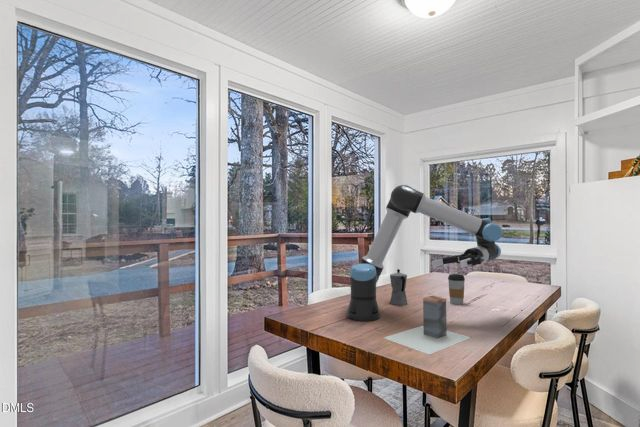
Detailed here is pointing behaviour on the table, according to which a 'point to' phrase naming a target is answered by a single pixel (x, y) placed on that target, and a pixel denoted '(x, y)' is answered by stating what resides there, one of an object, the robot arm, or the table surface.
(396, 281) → the coffeepot
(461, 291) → the coffee cup
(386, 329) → the table surface
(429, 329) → the slate block
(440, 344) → the sage mat
